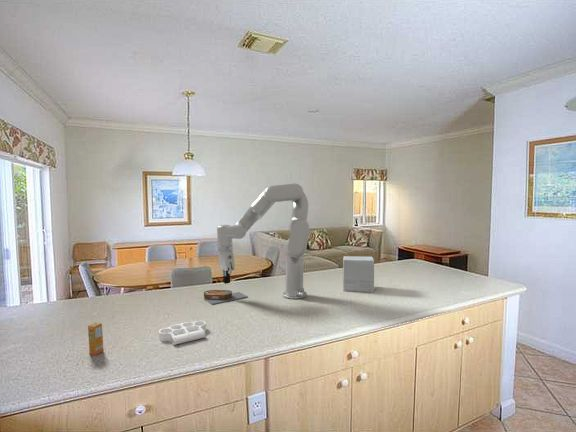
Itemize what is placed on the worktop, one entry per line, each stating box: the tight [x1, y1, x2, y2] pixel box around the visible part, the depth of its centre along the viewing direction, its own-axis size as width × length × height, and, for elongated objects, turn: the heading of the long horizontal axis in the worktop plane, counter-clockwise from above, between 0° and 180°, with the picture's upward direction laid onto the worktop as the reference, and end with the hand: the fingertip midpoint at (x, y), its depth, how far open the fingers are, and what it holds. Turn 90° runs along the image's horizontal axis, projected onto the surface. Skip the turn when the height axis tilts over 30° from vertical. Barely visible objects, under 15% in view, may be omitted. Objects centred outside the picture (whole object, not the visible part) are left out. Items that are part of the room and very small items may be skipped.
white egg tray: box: [158, 320, 207, 346], centre depth 125 cm, size 3×18×15 cm
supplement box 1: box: [87, 322, 104, 356], centre depth 111 cm, size 3×3×10 cm
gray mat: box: [204, 291, 249, 306], centre depth 171 cm, size 10×20×1 cm, turn 126°
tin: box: [203, 289, 233, 300], centre depth 172 cm, size 15×3×8 cm
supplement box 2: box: [342, 255, 375, 293], centre depth 189 cm, size 17×13×18 cm
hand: (226, 282), depth 172 cm, fingers closed
